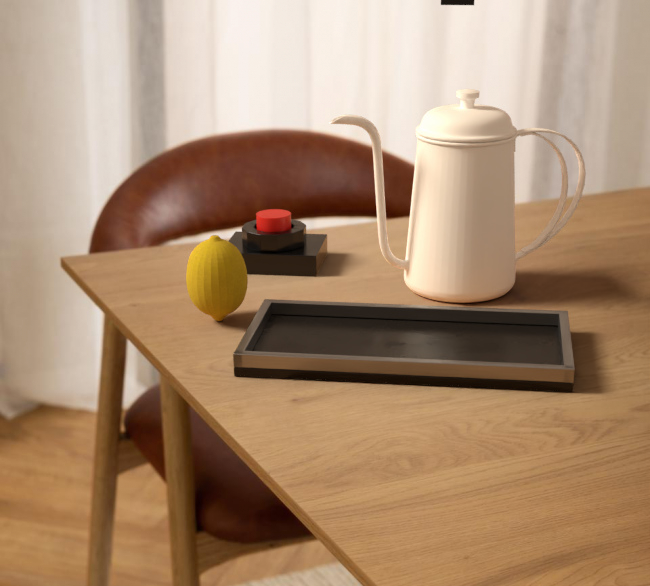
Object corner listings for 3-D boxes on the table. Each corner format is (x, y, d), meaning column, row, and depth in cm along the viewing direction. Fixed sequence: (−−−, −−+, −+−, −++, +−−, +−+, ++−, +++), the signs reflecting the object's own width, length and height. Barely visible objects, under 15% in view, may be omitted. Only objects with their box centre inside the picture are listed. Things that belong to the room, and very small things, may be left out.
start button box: (327, 254, 127) (327, 217, 125) (316, 277, 120) (316, 238, 118) (236, 251, 128) (234, 214, 127) (220, 273, 121) (218, 235, 120)
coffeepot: (318, 280, 119) (316, 85, 110) (553, 263, 123) (569, 74, 115) (342, 316, 110) (341, 106, 101) (595, 296, 114) (615, 93, 105)
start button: (294, 226, 124) (293, 209, 123) (288, 235, 121) (287, 218, 120) (260, 224, 124) (259, 208, 124) (253, 234, 121) (253, 217, 120)
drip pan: (566, 331, 106) (567, 310, 105) (572, 392, 93) (574, 369, 92) (265, 319, 109) (264, 298, 108) (234, 376, 97) (232, 353, 96)
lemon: (244, 308, 112) (240, 225, 108) (253, 328, 107) (250, 241, 103) (185, 313, 111) (180, 229, 107) (192, 333, 106) (186, 246, 102)
